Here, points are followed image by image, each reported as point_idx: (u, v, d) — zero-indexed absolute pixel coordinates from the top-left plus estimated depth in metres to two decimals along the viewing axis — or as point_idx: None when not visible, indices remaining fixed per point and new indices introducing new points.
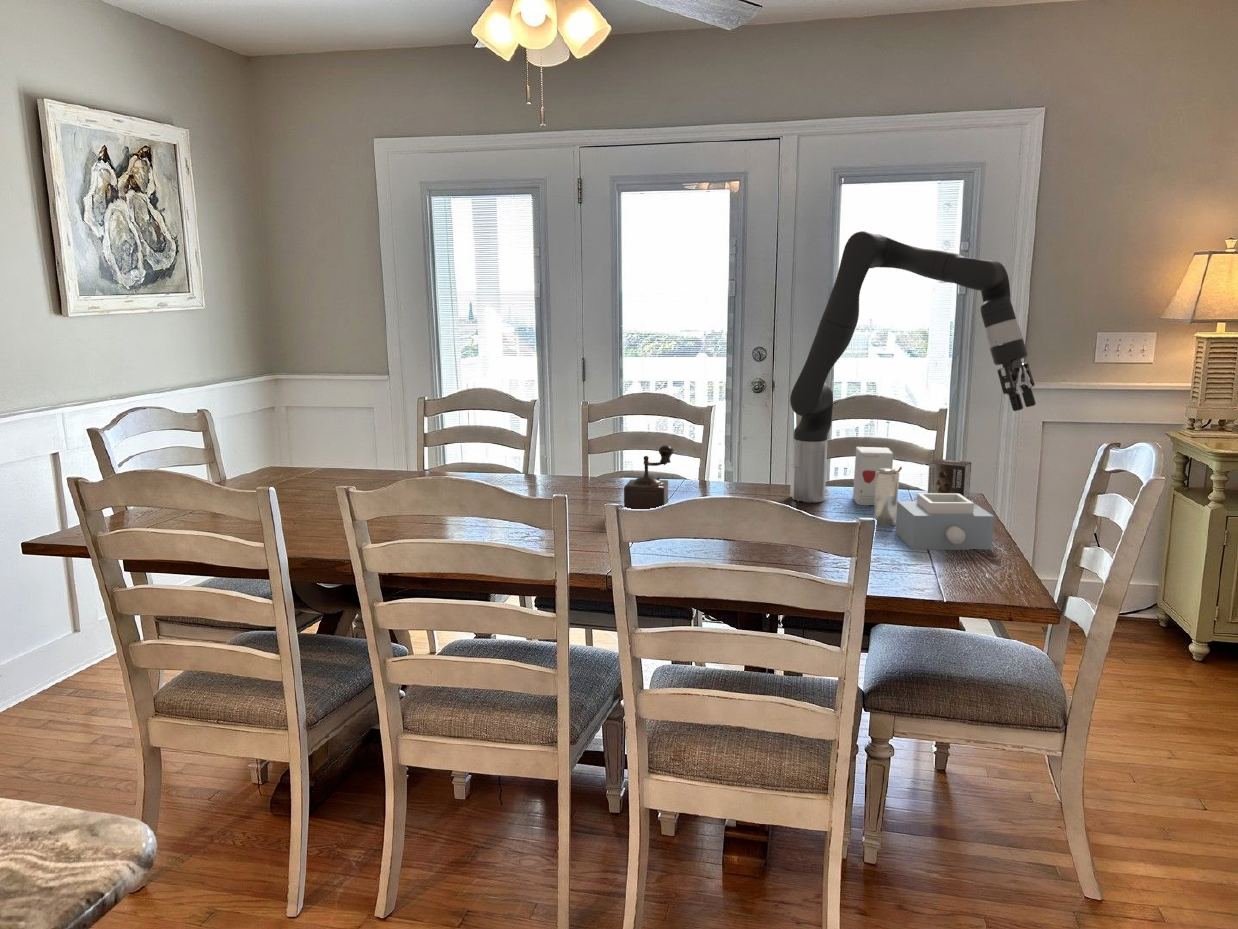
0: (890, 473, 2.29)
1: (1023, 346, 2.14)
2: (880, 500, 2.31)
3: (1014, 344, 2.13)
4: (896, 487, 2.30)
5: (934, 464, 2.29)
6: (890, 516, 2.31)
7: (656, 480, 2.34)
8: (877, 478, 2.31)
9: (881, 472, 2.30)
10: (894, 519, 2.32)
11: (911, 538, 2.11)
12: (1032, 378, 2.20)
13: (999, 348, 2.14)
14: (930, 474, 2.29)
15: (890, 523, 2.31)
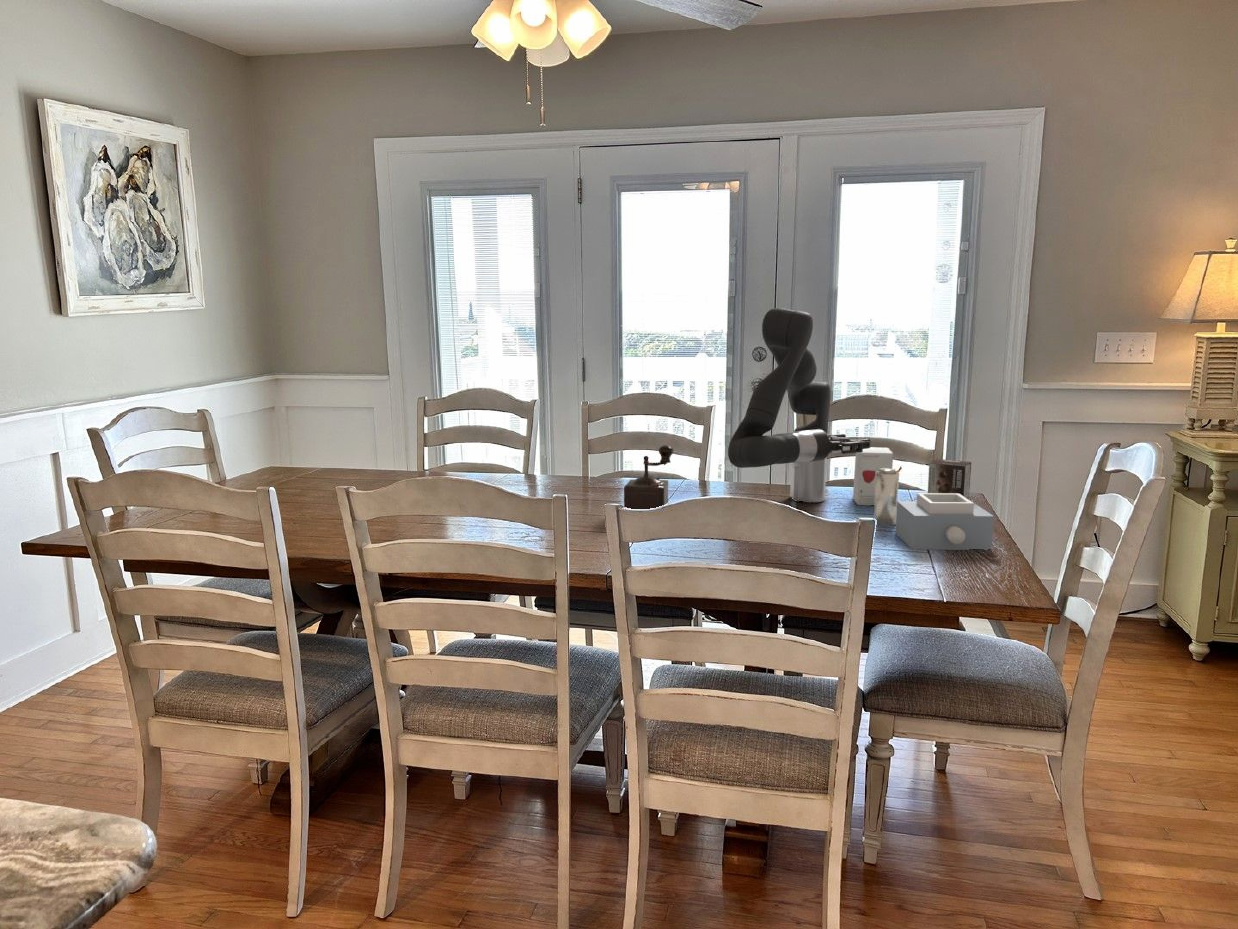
0: (890, 473, 2.29)
1: None
2: (880, 500, 2.31)
3: None
4: (896, 487, 2.30)
5: (934, 464, 2.29)
6: (890, 516, 2.31)
7: (656, 480, 2.34)
8: (877, 478, 2.31)
9: (881, 472, 2.30)
10: (894, 519, 2.32)
11: (911, 538, 2.11)
12: None
13: None
14: (930, 474, 2.29)
15: (890, 523, 2.31)
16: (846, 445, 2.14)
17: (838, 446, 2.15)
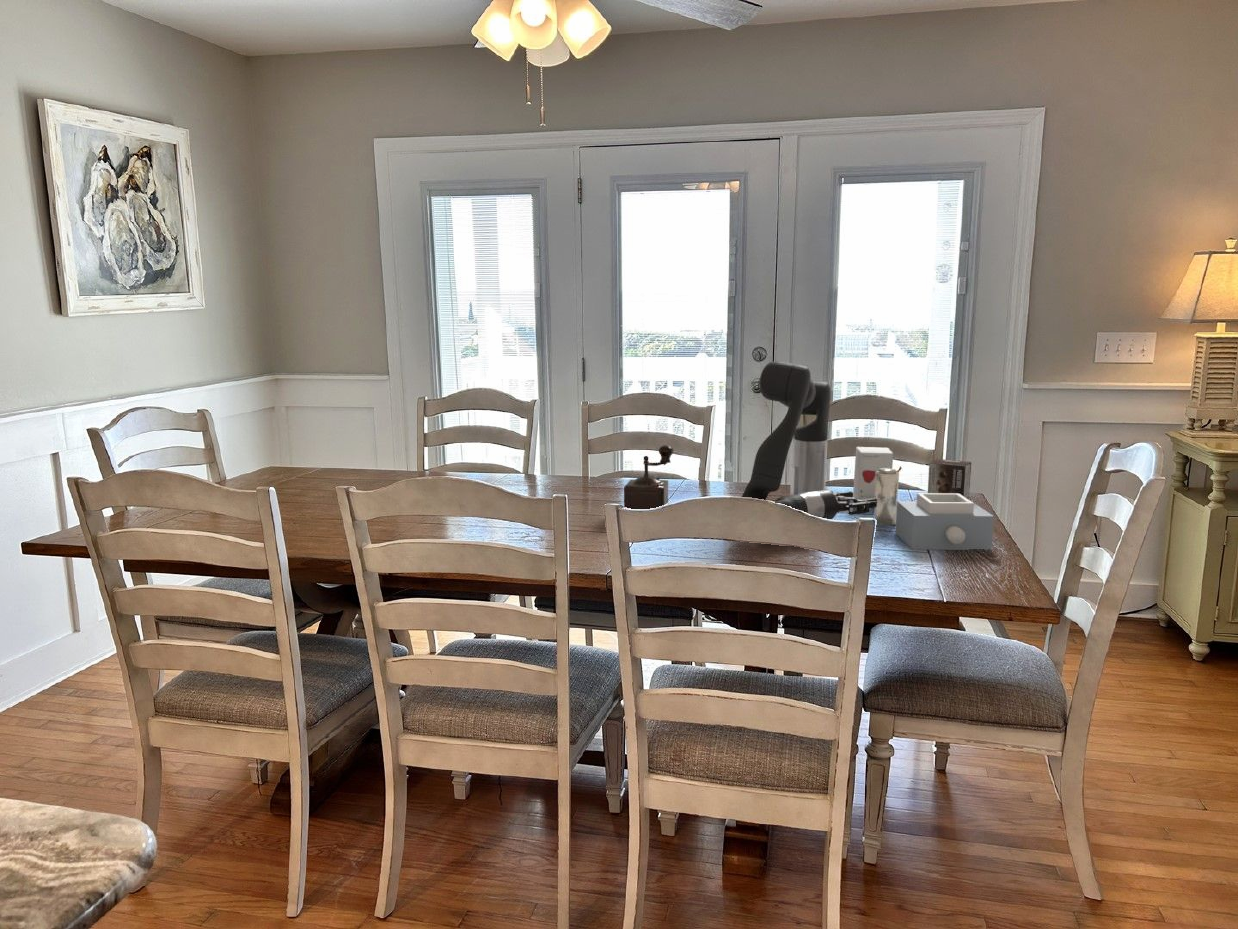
0: (890, 473, 2.29)
1: None
2: (880, 500, 2.31)
3: None
4: (896, 487, 2.30)
5: (934, 464, 2.29)
6: (890, 516, 2.31)
7: (656, 480, 2.34)
8: (877, 478, 2.31)
9: (881, 472, 2.30)
10: (894, 519, 2.32)
11: (911, 538, 2.11)
12: (863, 512, 2.20)
13: None
14: (930, 474, 2.29)
15: (890, 523, 2.31)
16: (853, 506, 2.19)
17: (845, 507, 2.20)
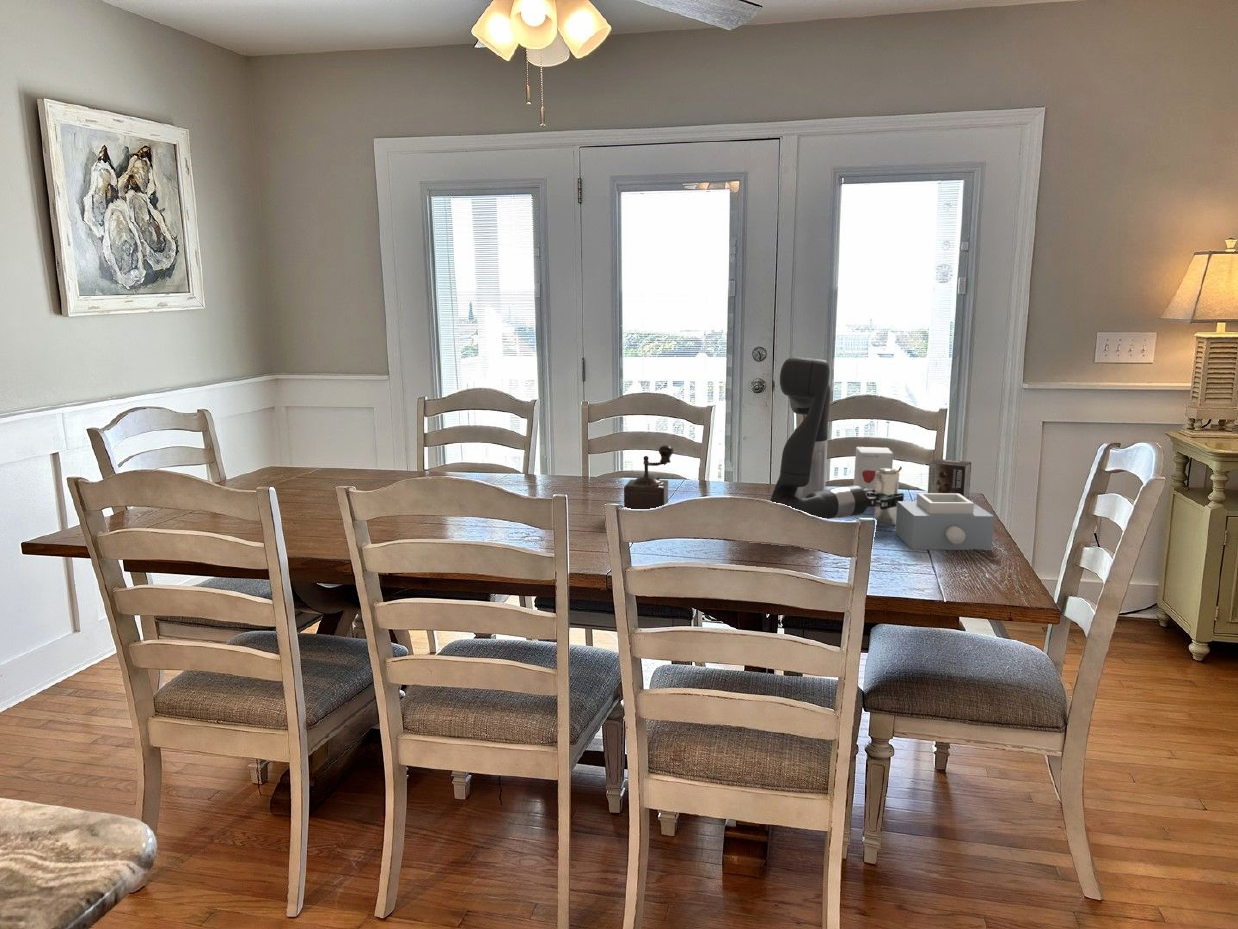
0: (890, 473, 2.29)
1: None
2: None
3: None
4: (896, 487, 2.30)
5: (934, 464, 2.29)
6: (890, 516, 2.31)
7: (656, 480, 2.34)
8: (877, 478, 2.31)
9: (881, 472, 2.30)
10: (894, 519, 2.32)
11: (911, 538, 2.11)
12: (892, 506, 2.26)
13: None
14: (930, 474, 2.29)
15: (890, 523, 2.31)
16: (885, 501, 2.23)
17: (876, 502, 2.25)
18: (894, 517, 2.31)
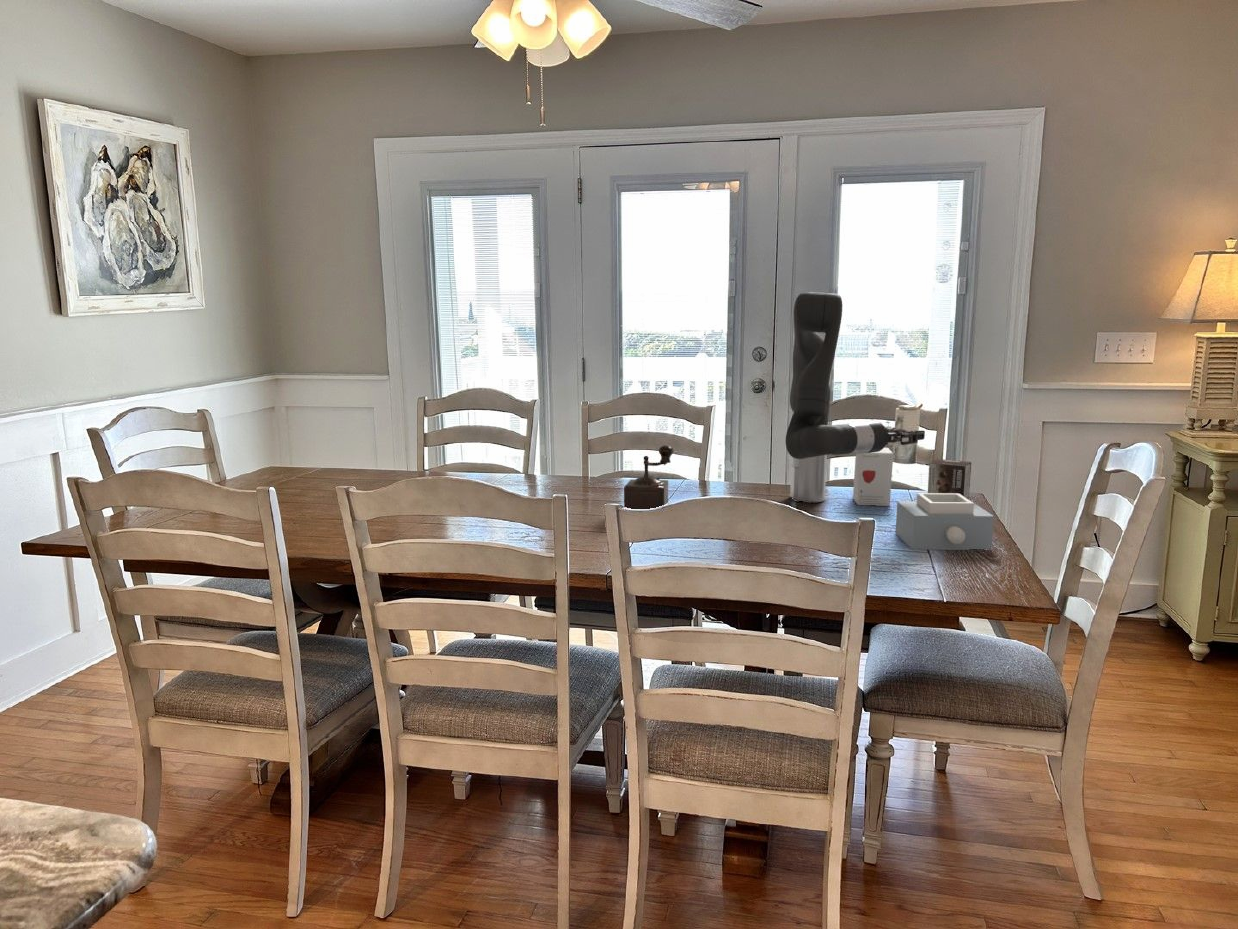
0: (911, 409, 2.21)
1: None
2: None
3: None
4: (917, 424, 2.21)
5: (934, 464, 2.29)
6: (910, 454, 2.22)
7: (656, 480, 2.34)
8: (897, 415, 2.22)
9: (901, 408, 2.22)
10: (914, 458, 2.23)
11: (911, 538, 2.11)
12: None
13: None
14: (930, 474, 2.29)
15: (910, 461, 2.22)
16: (906, 436, 2.15)
17: (896, 437, 2.16)
18: (914, 455, 2.23)
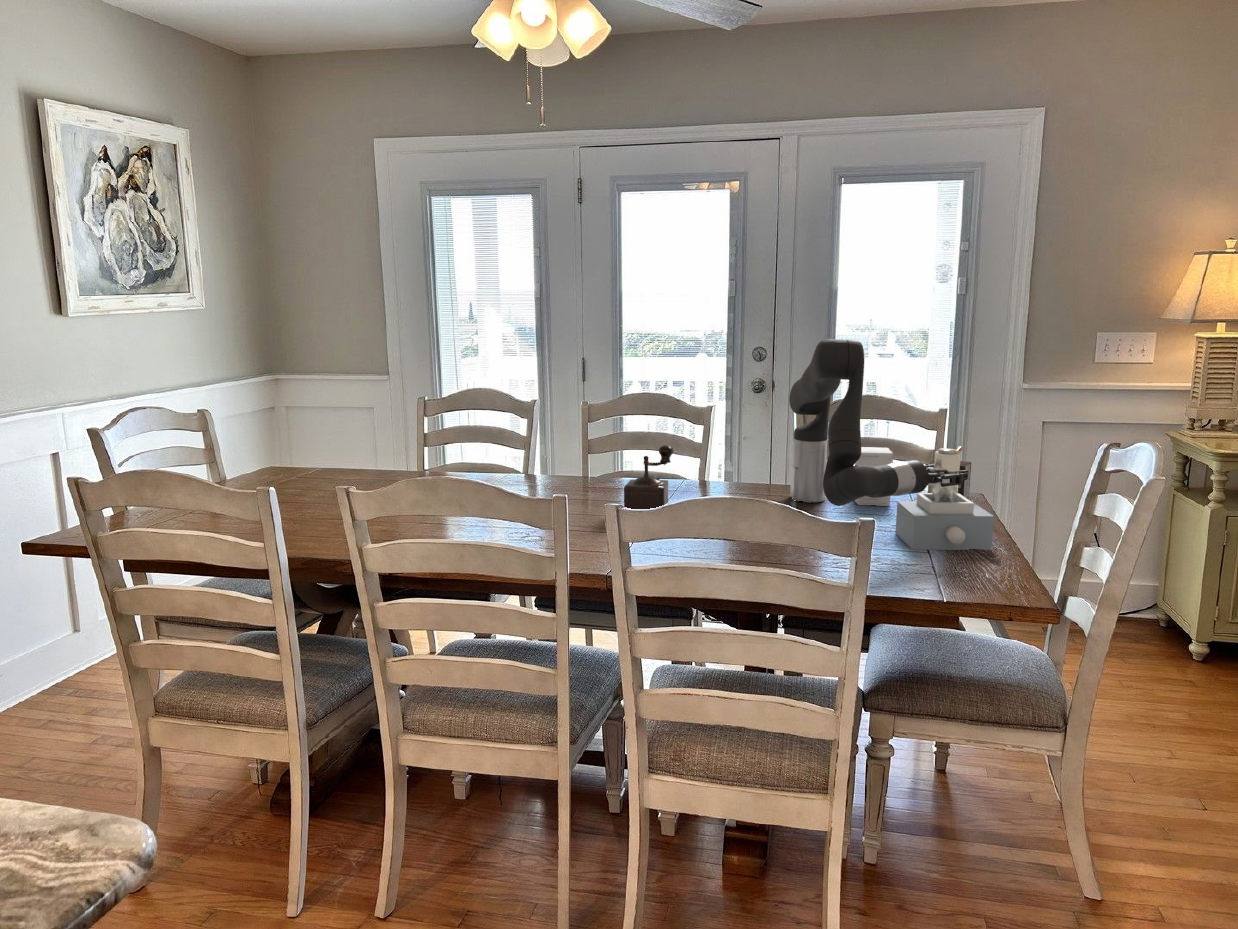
0: (951, 453, 2.11)
1: None
2: None
3: None
4: (957, 468, 2.12)
5: None
6: (950, 500, 2.12)
7: (656, 480, 2.34)
8: (937, 459, 2.13)
9: (941, 452, 2.12)
10: None
11: (911, 538, 2.11)
12: (956, 484, 2.06)
13: None
14: None
15: None
16: (946, 478, 2.04)
17: (937, 478, 2.06)
18: (955, 501, 2.13)
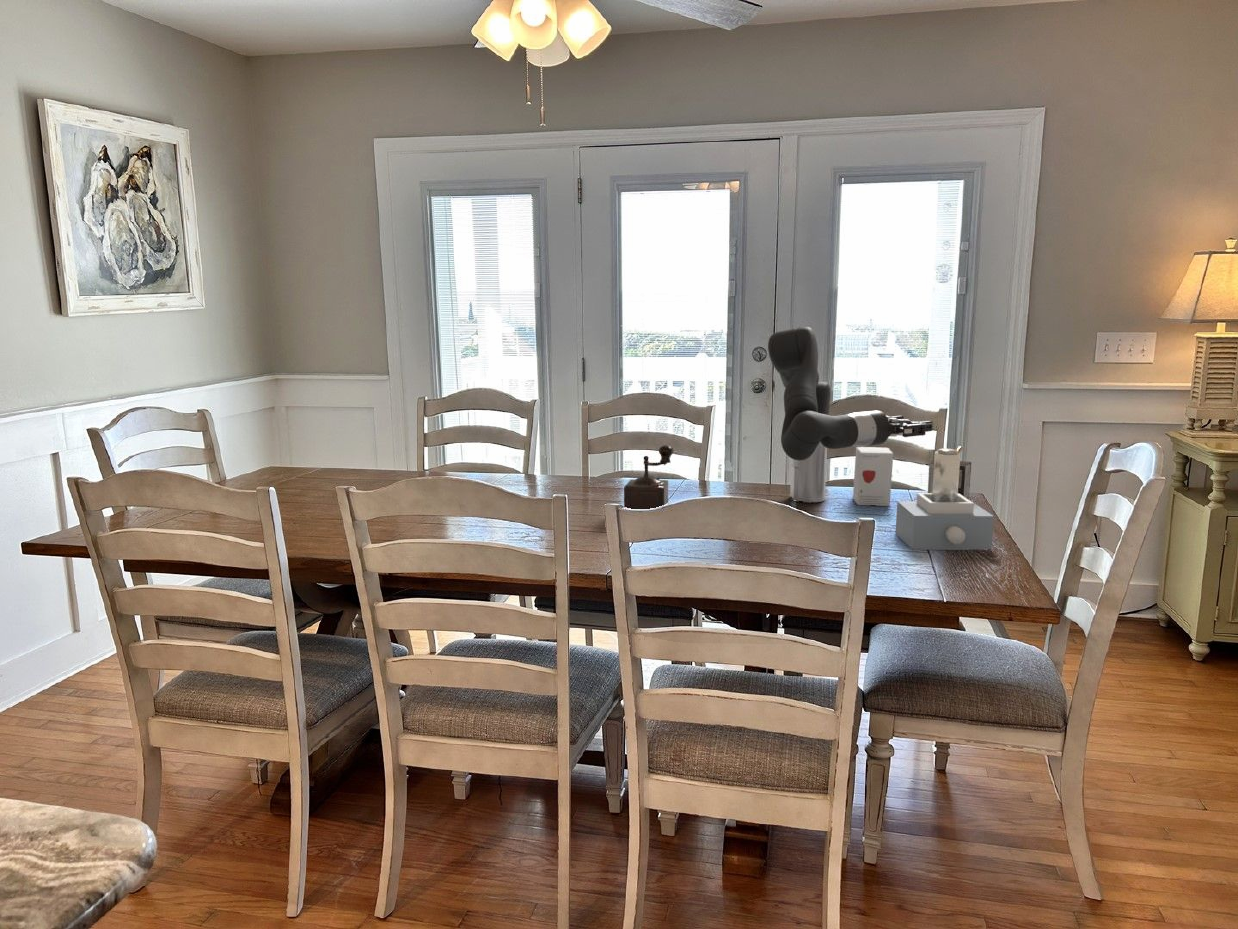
0: (951, 453, 2.11)
1: None
2: (940, 483, 2.12)
3: None
4: (957, 469, 2.11)
5: None
6: (950, 500, 2.12)
7: (656, 480, 2.34)
8: (936, 459, 2.12)
9: (941, 452, 2.12)
10: None
11: (911, 538, 2.11)
12: (919, 435, 1.97)
13: None
14: (930, 474, 2.29)
15: None
16: (908, 428, 1.96)
17: (899, 429, 1.97)
18: None
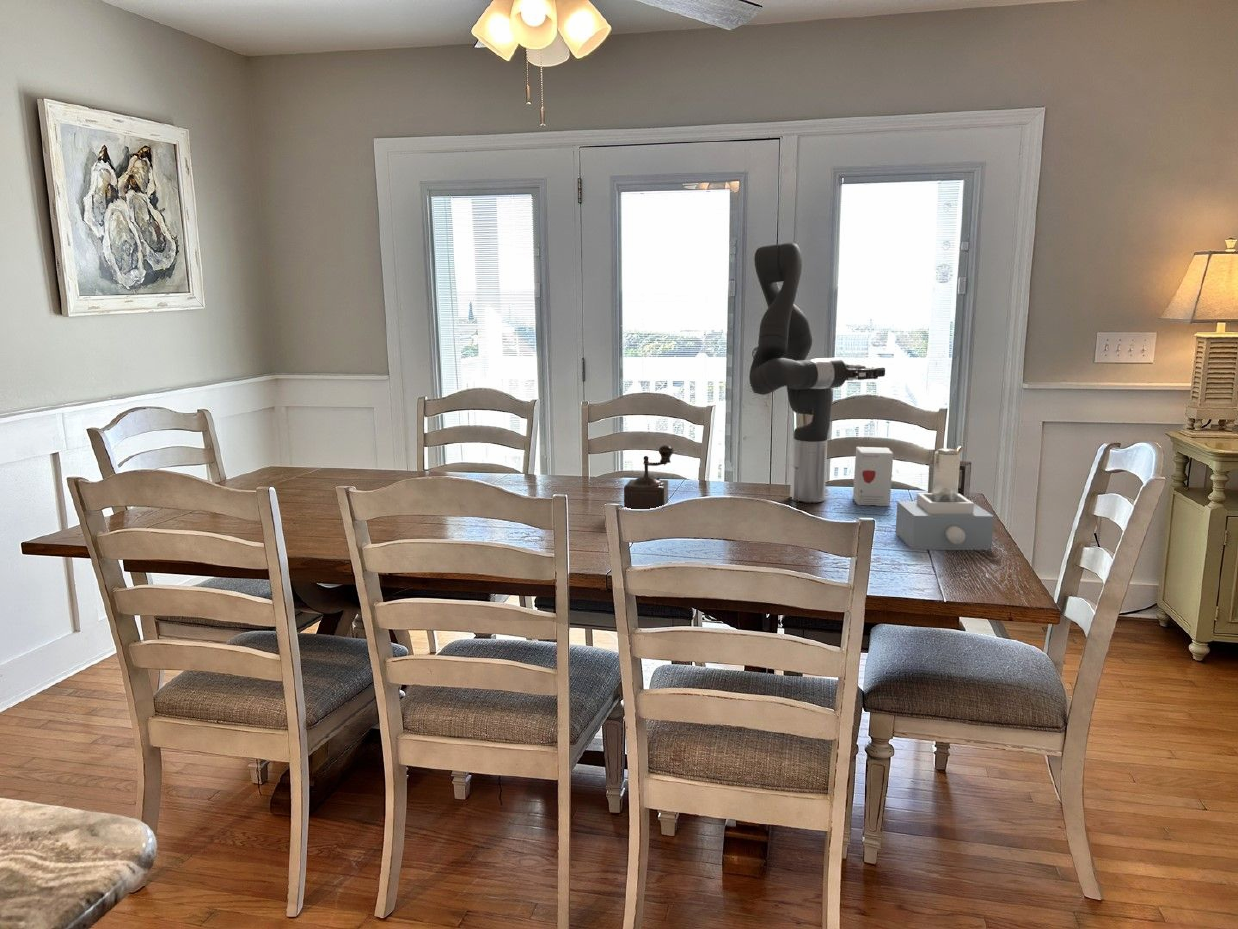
0: (951, 453, 2.11)
1: None
2: (940, 483, 2.12)
3: None
4: (957, 469, 2.11)
5: None
6: (950, 500, 2.12)
7: (656, 480, 2.34)
8: (936, 459, 2.12)
9: (941, 452, 2.12)
10: None
11: (911, 538, 2.11)
12: (872, 378, 2.26)
13: None
14: (930, 474, 2.29)
15: None
16: (862, 371, 2.24)
17: (854, 373, 2.25)
18: None
